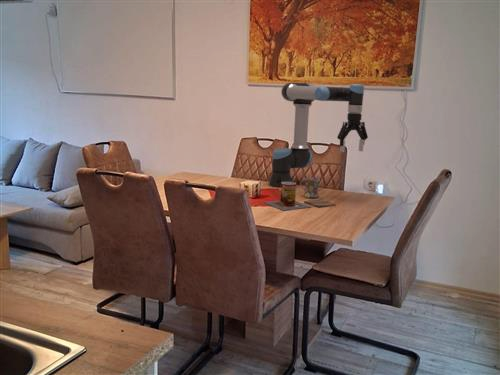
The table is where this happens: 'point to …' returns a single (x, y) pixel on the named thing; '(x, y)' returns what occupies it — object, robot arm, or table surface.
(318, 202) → the walnut pad
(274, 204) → the frame
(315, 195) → the mug
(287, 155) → the robot arm
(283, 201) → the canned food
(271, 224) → the table surface
